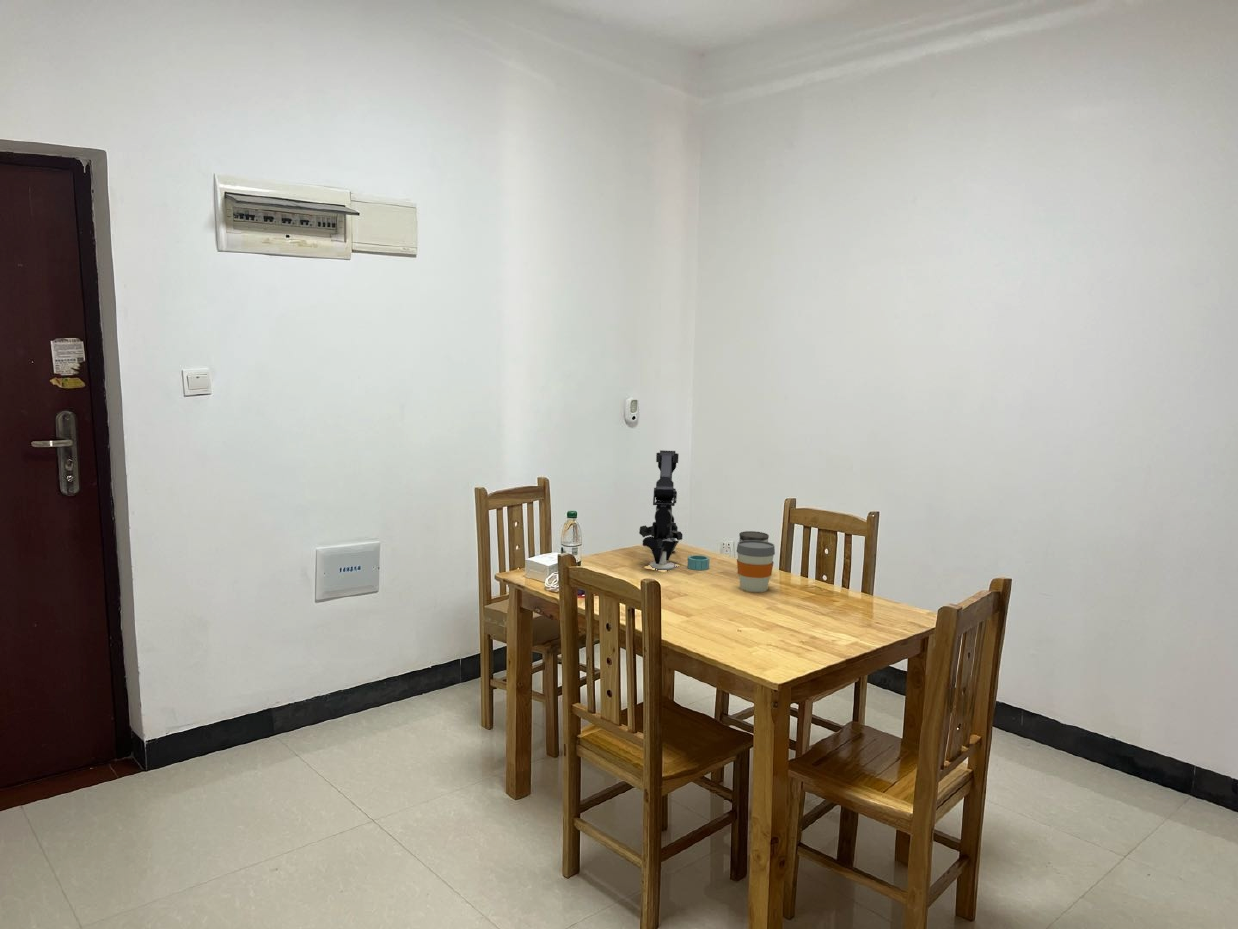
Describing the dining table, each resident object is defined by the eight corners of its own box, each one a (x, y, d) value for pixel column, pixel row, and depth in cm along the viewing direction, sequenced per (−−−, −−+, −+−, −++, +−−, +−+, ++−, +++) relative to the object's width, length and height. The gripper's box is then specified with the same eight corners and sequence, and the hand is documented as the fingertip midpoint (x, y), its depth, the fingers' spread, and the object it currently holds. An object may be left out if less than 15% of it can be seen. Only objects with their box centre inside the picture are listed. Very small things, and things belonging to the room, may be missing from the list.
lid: (657, 562, 316) (658, 547, 315) (679, 565, 311) (679, 551, 310) (644, 566, 309) (645, 552, 308) (666, 570, 304) (666, 556, 303)
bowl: (693, 564, 315) (694, 554, 315) (712, 568, 311) (713, 557, 310) (683, 568, 309) (683, 558, 308) (702, 572, 304) (702, 561, 304)
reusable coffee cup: (771, 584, 291) (773, 541, 289) (774, 594, 279) (776, 549, 277) (734, 582, 293) (736, 539, 291) (735, 592, 280) (737, 547, 278)
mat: (660, 561, 319) (660, 560, 318) (683, 565, 313) (683, 564, 313) (639, 568, 307) (639, 567, 307) (663, 573, 301) (663, 572, 301)
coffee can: (748, 578, 299) (749, 538, 297) (732, 570, 308) (733, 532, 306) (772, 575, 303) (774, 536, 301) (756, 568, 312) (758, 530, 311)
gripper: (657, 513, 320) (656, 554, 322) (630, 520, 304) (629, 563, 306) (683, 516, 314) (682, 558, 316) (657, 524, 298) (655, 568, 300)
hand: (662, 562), depth 310 cm, fingers open, 6 cm apart
